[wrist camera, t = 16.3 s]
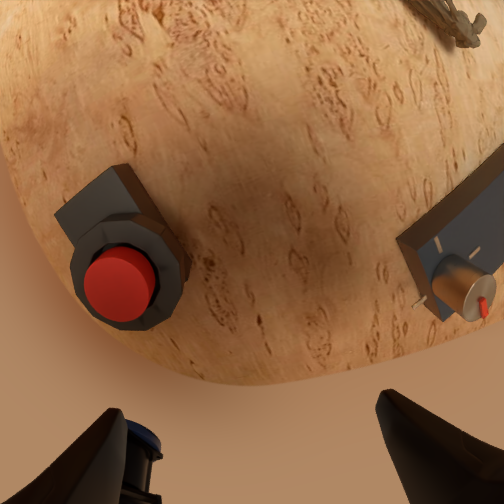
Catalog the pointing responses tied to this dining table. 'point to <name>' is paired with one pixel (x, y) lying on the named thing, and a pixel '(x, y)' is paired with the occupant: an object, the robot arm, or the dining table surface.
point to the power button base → (124, 240)
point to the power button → (120, 284)
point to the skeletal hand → (452, 21)
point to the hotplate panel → (459, 231)
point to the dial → (464, 287)
